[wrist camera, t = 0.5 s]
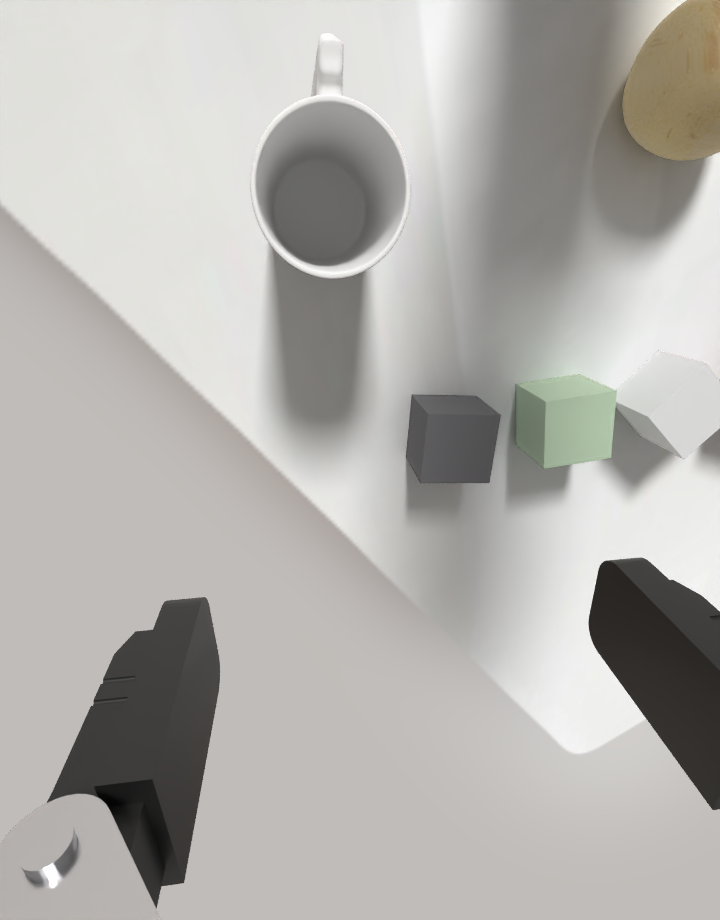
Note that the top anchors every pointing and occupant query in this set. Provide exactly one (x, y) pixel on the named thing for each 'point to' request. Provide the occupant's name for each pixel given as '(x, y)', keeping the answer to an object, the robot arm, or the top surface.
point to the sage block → (565, 420)
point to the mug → (330, 178)
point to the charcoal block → (451, 438)
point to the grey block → (672, 402)
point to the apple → (678, 85)
